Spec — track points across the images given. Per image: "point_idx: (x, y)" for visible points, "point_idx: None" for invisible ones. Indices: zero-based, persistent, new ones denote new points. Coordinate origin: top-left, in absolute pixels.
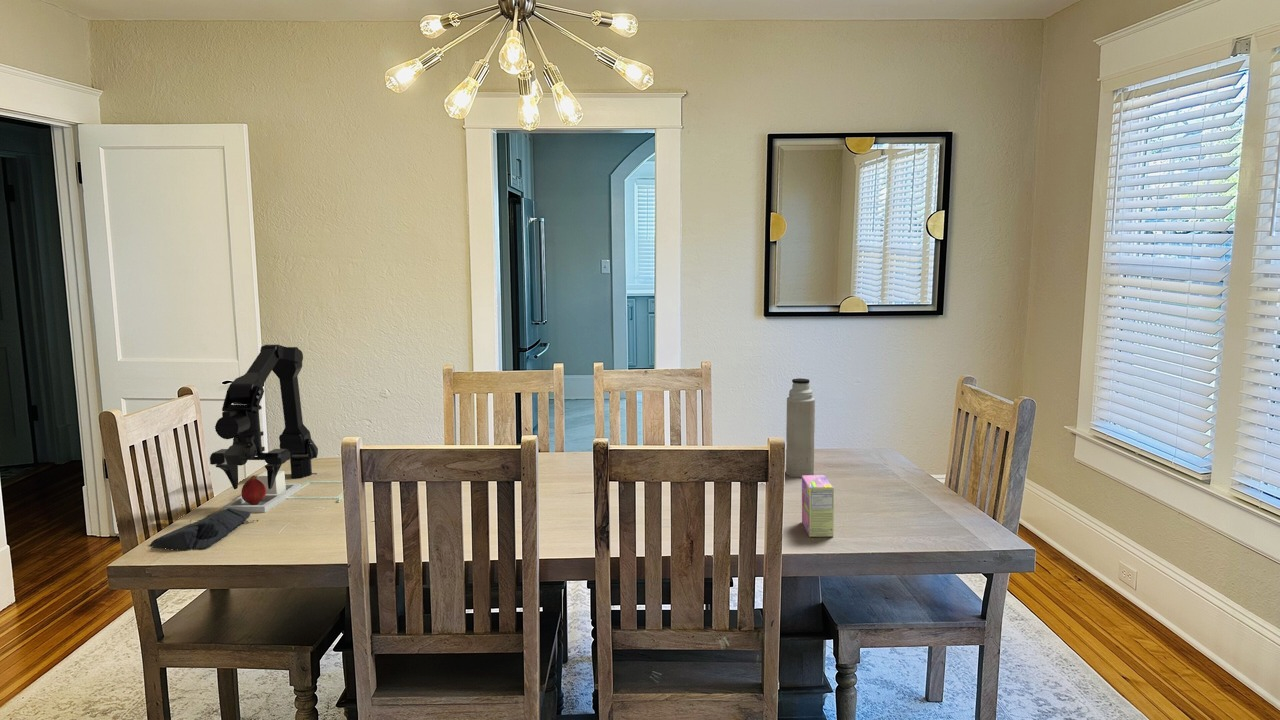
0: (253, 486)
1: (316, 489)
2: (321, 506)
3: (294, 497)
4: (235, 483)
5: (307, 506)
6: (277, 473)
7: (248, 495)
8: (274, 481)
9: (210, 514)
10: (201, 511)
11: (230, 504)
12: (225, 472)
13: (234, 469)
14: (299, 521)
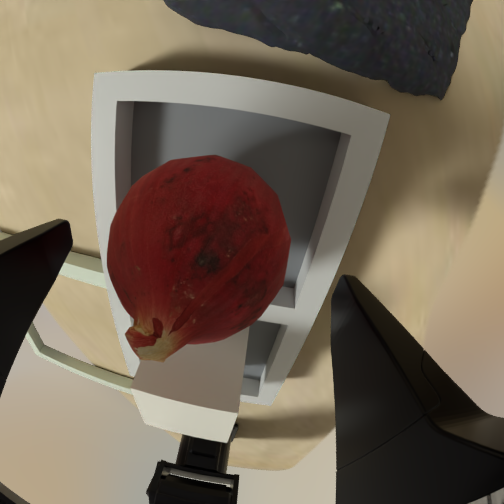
0: (140, 218)
1: (115, 359)
2: (4, 198)
3: (90, 277)
4: (348, 313)
5: (33, 203)
6: (149, 411)
7: (202, 158)
8: (146, 364)
9: (425, 51)
10: (467, 225)
11: (349, 153)
12: (466, 397)
13: (367, 452)
14: (3, 39)
